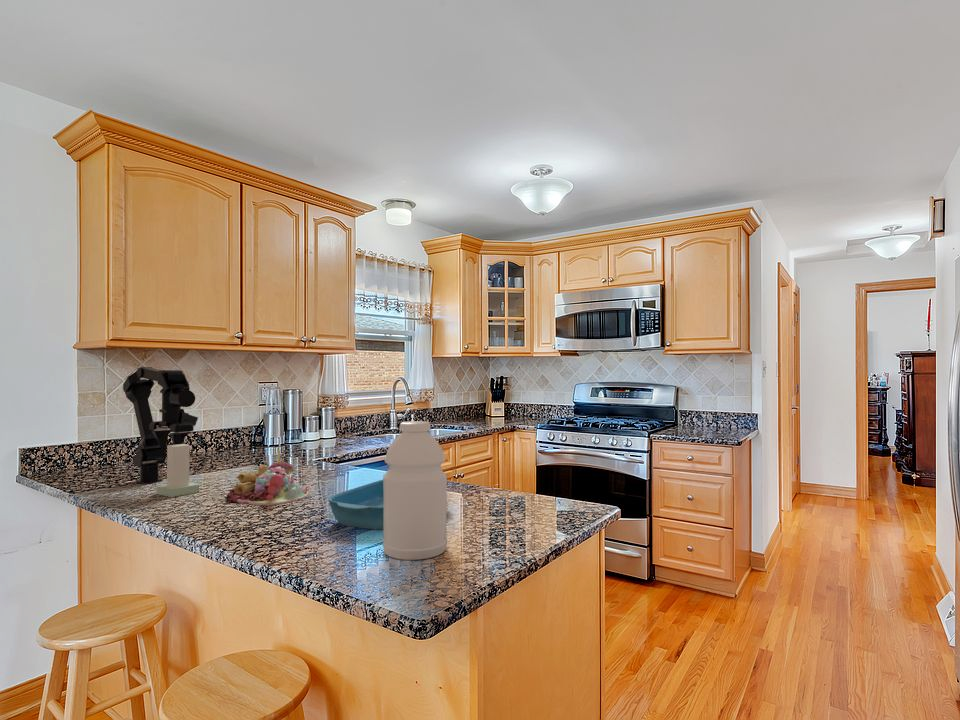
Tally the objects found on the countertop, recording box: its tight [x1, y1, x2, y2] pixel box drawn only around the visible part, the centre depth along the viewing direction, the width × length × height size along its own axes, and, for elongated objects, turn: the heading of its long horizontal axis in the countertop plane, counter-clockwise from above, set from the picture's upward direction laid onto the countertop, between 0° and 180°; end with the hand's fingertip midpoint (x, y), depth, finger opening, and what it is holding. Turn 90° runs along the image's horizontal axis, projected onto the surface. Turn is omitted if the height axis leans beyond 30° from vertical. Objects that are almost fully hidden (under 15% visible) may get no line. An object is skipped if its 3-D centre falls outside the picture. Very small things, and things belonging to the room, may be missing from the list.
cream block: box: [166, 443, 191, 488], centre depth 177 cm, size 5×5×13 cm
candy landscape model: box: [225, 464, 310, 506], centre depth 173 cm, size 25×24×9 cm
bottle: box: [382, 420, 448, 561], centre depth 119 cm, size 14×14×28 cm
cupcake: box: [268, 448, 294, 475], centre depth 195 cm, size 9×8×12 cm
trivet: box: [156, 481, 200, 498], centre depth 176 cm, size 9×9×2 cm
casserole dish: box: [328, 479, 383, 531], centre depth 149 cm, size 37×22×7 cm, turn 156°
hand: (170, 451), depth 187 cm, fingers open, 9 cm apart
